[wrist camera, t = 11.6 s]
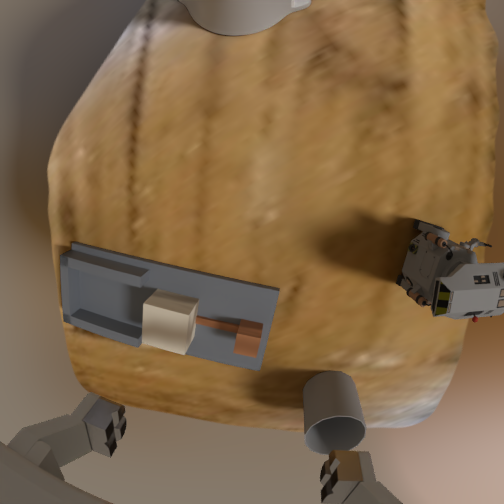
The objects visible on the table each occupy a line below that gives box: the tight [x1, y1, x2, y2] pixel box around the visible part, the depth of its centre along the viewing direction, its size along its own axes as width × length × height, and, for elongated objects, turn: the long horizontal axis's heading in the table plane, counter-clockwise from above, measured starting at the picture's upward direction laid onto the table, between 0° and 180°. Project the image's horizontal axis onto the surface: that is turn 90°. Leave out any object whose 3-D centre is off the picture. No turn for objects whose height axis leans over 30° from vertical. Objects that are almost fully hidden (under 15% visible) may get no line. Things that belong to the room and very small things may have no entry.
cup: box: [303, 371, 366, 455], centre depth 41 cm, size 8×8×10 cm
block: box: [142, 289, 263, 358], centre depth 41 cm, size 6×15×5 cm, turn 79°
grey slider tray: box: [60, 242, 280, 371], centre depth 42 cm, size 13×31×4 cm, turn 79°
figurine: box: [396, 219, 504, 322], centre depth 31 cm, size 9×12×15 cm
